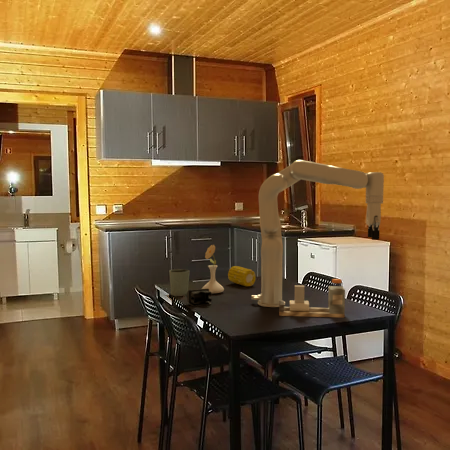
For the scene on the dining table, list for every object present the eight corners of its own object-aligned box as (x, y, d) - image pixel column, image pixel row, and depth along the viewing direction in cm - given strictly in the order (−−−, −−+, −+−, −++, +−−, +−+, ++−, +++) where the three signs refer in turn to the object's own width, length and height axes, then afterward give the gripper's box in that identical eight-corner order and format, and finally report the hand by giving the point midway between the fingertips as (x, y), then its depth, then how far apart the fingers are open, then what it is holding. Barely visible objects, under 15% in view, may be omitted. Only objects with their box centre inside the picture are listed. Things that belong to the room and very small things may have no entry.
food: (258, 286, 279) (258, 268, 278) (239, 288, 274) (239, 269, 273) (244, 281, 293) (244, 264, 292) (225, 283, 287) (225, 265, 286)
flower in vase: (201, 290, 268) (201, 242, 266) (223, 290, 269) (223, 242, 267) (202, 295, 255) (202, 245, 253) (225, 295, 256) (225, 245, 254)
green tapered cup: (166, 295, 255) (166, 271, 254) (173, 291, 265) (173, 268, 264) (185, 296, 253) (185, 272, 252) (192, 292, 263) (192, 269, 262)
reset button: (332, 283, 215) (332, 280, 215) (331, 281, 219) (331, 278, 219) (342, 283, 215) (342, 280, 215) (340, 281, 219) (341, 278, 219)
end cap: (206, 301, 243) (206, 287, 242) (212, 304, 236) (212, 290, 236) (186, 303, 238) (186, 289, 238) (192, 306, 232) (192, 292, 231)
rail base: (279, 315, 216) (279, 288, 215) (279, 311, 224) (279, 284, 224) (344, 317, 213) (345, 290, 212) (342, 312, 222) (342, 286, 221)
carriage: (289, 311, 216) (290, 287, 216) (289, 307, 223) (289, 284, 223) (309, 311, 216) (309, 287, 215) (308, 307, 223) (308, 284, 222)
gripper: (362, 199, 237) (361, 236, 239) (369, 200, 220) (368, 240, 222) (379, 199, 237) (378, 236, 238) (387, 200, 219) (385, 240, 221)
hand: (373, 238), depth 230 cm, fingers open, 9 cm apart
